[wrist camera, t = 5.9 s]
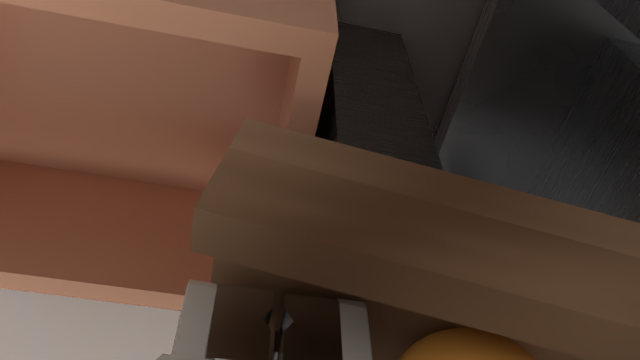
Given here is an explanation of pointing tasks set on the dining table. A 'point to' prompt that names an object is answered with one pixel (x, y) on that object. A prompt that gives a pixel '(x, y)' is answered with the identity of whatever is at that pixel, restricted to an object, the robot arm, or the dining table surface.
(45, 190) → the pink open box
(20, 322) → the dining table surface
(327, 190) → the brown wooden tray
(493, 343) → the ball
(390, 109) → the stand
